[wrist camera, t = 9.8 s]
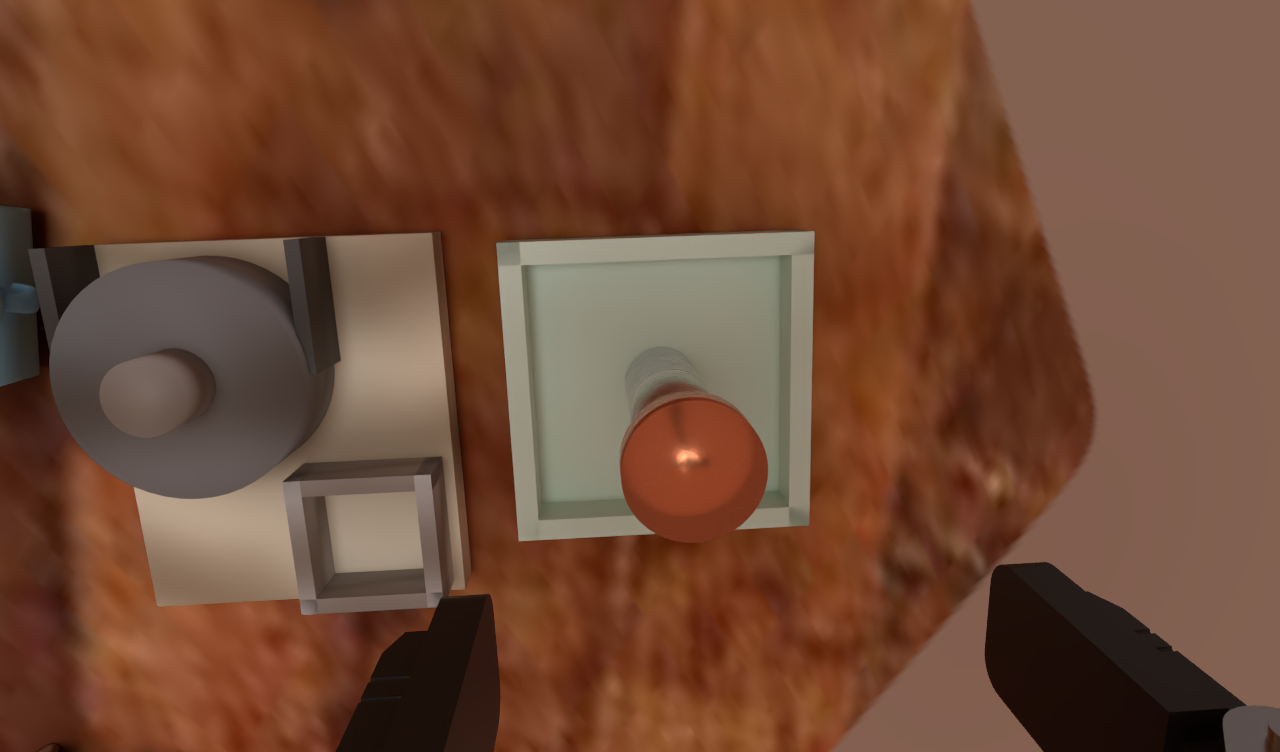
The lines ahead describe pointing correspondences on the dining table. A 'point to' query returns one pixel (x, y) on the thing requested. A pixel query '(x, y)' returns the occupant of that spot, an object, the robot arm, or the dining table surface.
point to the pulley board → (357, 426)
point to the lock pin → (687, 452)
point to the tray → (631, 323)
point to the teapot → (17, 298)
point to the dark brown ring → (50, 748)
